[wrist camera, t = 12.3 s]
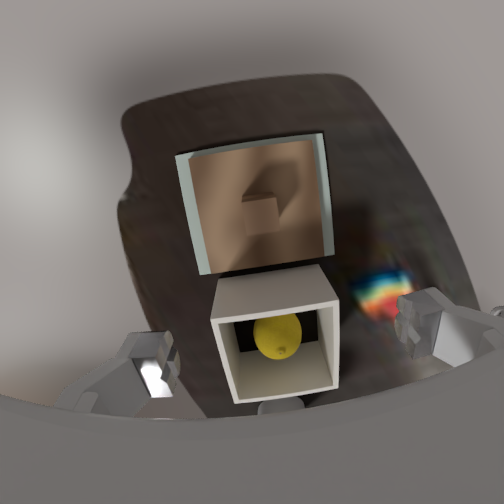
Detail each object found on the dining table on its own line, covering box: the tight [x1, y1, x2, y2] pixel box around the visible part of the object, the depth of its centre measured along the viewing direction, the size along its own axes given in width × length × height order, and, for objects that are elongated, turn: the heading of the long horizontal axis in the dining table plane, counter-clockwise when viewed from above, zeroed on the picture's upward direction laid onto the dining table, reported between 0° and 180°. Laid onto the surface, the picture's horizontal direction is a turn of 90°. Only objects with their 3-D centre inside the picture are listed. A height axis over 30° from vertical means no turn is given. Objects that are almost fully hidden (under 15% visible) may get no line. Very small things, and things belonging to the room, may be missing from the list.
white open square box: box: [210, 264, 339, 403], centre depth 33 cm, size 12×12×9 cm
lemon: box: [253, 313, 302, 360], centre depth 33 cm, size 6×6×8 cm
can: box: [258, 396, 305, 415], centre depth 37 cm, size 8×8×12 cm
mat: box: [175, 133, 335, 275], centre depth 32 cm, size 16×14×1 cm
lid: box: [188, 140, 325, 274], centre depth 30 cm, size 13×13×5 cm
